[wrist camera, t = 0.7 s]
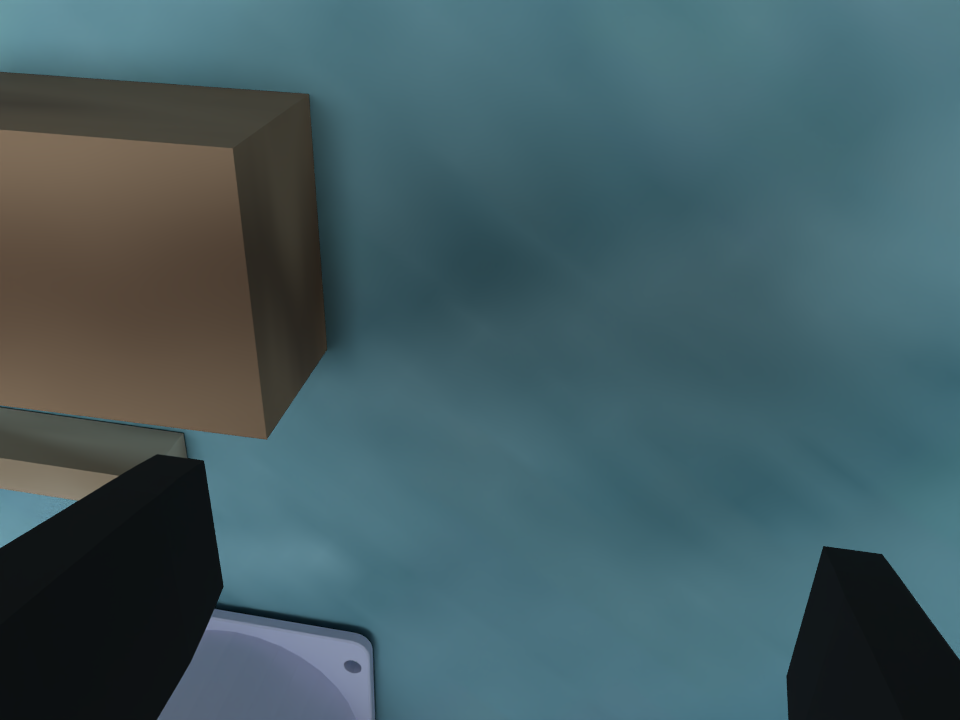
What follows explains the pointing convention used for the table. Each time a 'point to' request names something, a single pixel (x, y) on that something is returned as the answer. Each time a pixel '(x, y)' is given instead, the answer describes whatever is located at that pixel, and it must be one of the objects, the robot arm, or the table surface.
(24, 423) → the open wooden frame
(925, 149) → the table surface
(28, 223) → the walnut block
